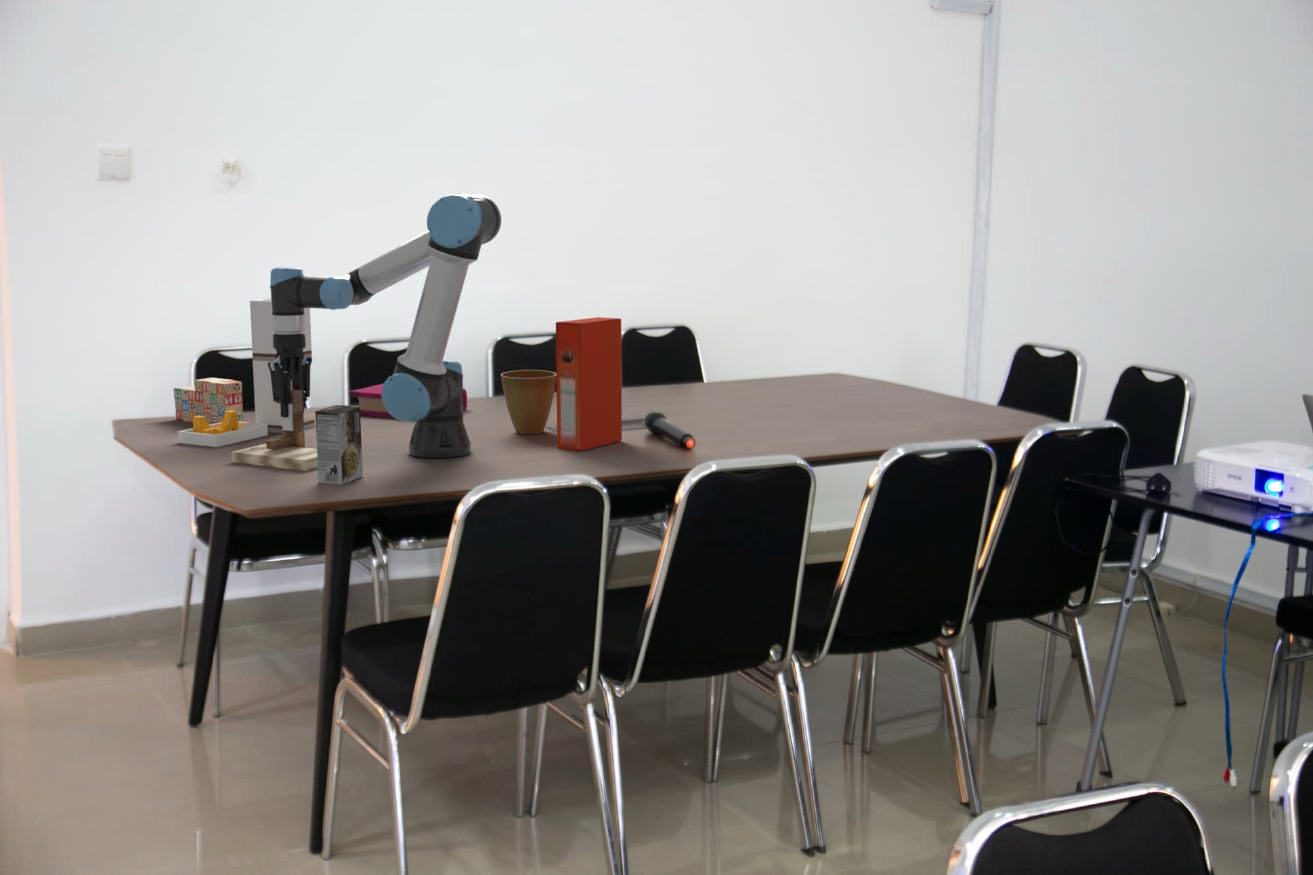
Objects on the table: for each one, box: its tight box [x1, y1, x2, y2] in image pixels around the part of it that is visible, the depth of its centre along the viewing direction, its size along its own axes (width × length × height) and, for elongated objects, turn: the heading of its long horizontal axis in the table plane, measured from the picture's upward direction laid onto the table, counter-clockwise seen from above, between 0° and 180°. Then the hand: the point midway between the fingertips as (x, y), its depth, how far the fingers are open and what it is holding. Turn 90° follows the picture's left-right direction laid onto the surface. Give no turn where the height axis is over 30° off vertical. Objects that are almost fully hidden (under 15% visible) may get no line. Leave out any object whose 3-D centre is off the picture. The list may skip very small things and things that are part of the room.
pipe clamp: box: [192, 410, 238, 435], centre depth 332 cm, size 12×4×6 cm, turn 148°
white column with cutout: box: [249, 297, 316, 434], centre depth 343 cm, size 11×11×35 cm
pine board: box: [230, 443, 318, 472], centre depth 303 cm, size 22×12×3 cm, turn 65°
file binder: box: [555, 316, 623, 452], centre depth 325 cm, size 8×17×32 cm, turn 146°
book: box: [348, 383, 468, 418], centre depth 376 cm, size 21×28×8 cm
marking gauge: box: [265, 389, 306, 449], centre depth 306 cm, size 5×10×16 cm, turn 155°
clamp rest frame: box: [177, 421, 269, 448], centre depth 331 cm, size 13×19×3 cm
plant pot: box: [500, 369, 557, 435], centre depth 343 cm, size 15×15×16 cm
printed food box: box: [314, 404, 364, 486], centre depth 283 cm, size 9×6×16 cm
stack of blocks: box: [173, 377, 244, 425], centre depth 355 cm, size 21×6×12 cm, turn 58°
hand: (293, 428), depth 310 cm, fingers closed on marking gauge, 3 cm apart
